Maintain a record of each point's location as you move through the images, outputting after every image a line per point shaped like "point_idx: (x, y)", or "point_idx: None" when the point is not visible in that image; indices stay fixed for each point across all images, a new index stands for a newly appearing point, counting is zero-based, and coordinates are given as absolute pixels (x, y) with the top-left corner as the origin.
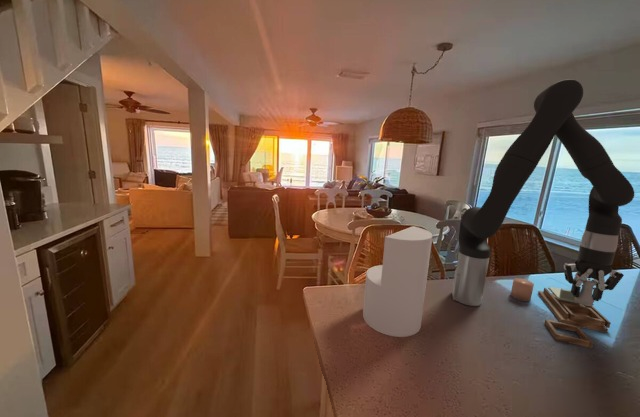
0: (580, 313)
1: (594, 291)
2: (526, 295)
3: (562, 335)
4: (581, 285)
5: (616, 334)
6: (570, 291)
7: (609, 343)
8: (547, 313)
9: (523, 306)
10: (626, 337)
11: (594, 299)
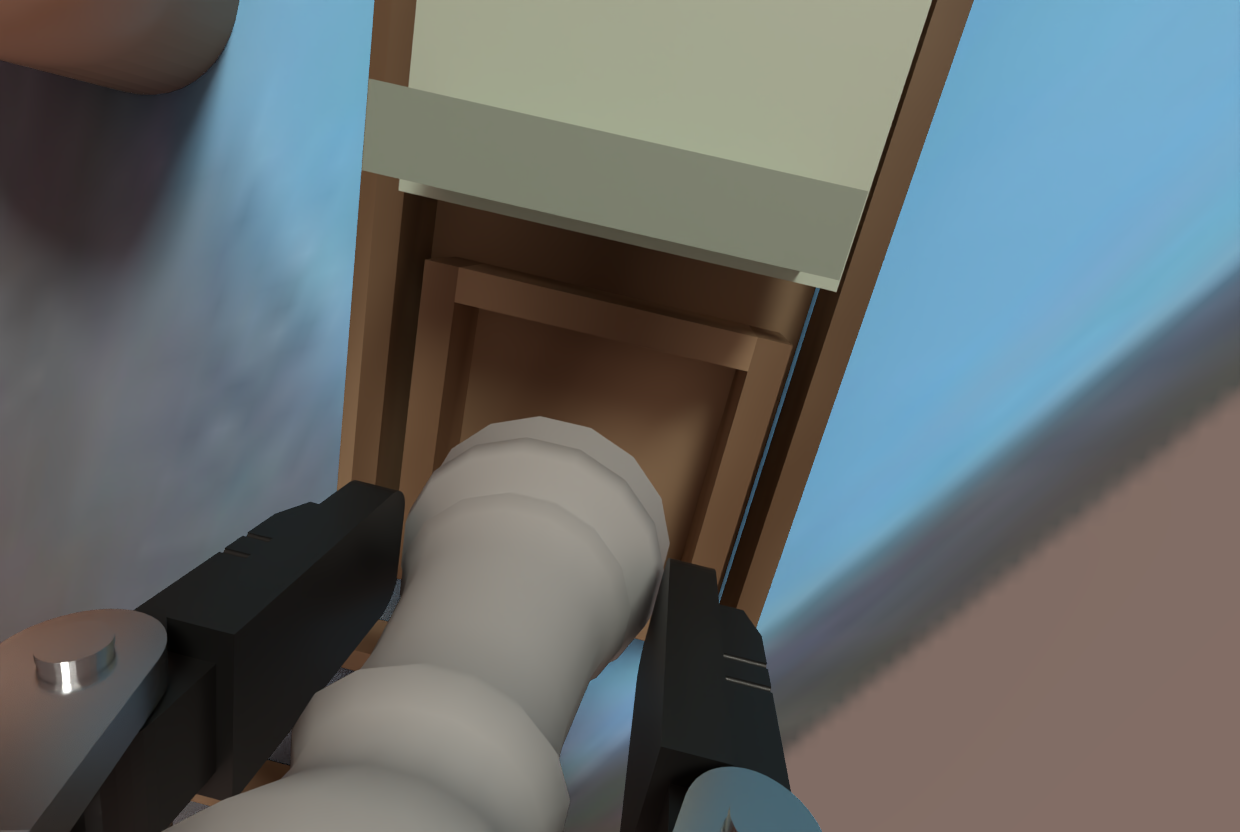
0: (636, 374)
1: (649, 707)
2: (69, 75)
3: (208, 799)
4: (305, 709)
5: (778, 624)
6: (506, 196)
7: (591, 749)
8: (306, 373)
9: (98, 271)
10: (836, 653)
11: (646, 642)
